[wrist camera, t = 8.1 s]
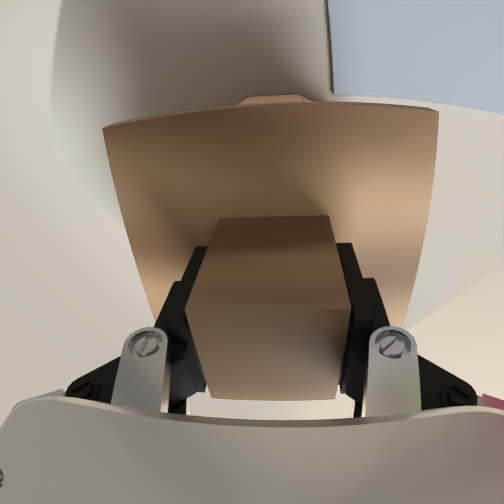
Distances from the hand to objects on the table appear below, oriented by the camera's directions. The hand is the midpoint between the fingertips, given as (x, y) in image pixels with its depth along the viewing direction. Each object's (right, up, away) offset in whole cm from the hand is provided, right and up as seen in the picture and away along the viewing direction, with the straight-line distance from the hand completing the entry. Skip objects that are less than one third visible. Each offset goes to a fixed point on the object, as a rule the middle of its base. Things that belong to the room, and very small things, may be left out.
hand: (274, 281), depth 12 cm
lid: (0, +1, +2) cm, 2 cm away
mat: (+10, +16, +1) cm, 19 cm away
